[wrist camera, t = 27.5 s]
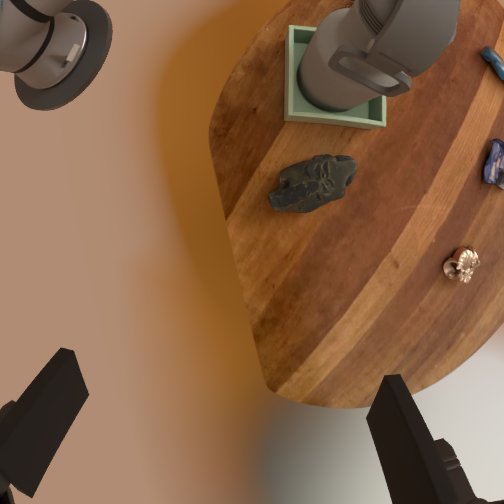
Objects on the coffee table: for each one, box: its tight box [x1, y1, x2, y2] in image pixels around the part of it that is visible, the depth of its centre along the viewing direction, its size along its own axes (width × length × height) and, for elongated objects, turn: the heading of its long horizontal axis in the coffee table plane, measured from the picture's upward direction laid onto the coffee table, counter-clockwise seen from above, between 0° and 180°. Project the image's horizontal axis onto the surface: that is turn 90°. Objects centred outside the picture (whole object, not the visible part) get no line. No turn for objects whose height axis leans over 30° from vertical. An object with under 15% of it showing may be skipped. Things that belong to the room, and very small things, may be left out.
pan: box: [284, 25, 386, 130], centre depth 33 cm, size 13×13×6 cm
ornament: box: [443, 246, 481, 284], centre depth 42 cm, size 8×7×4 cm
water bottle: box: [297, 0, 461, 112], centre depth 22 cm, size 10×10×28 cm
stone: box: [268, 154, 357, 213], centre depth 38 cm, size 7×13×5 cm, turn 115°
